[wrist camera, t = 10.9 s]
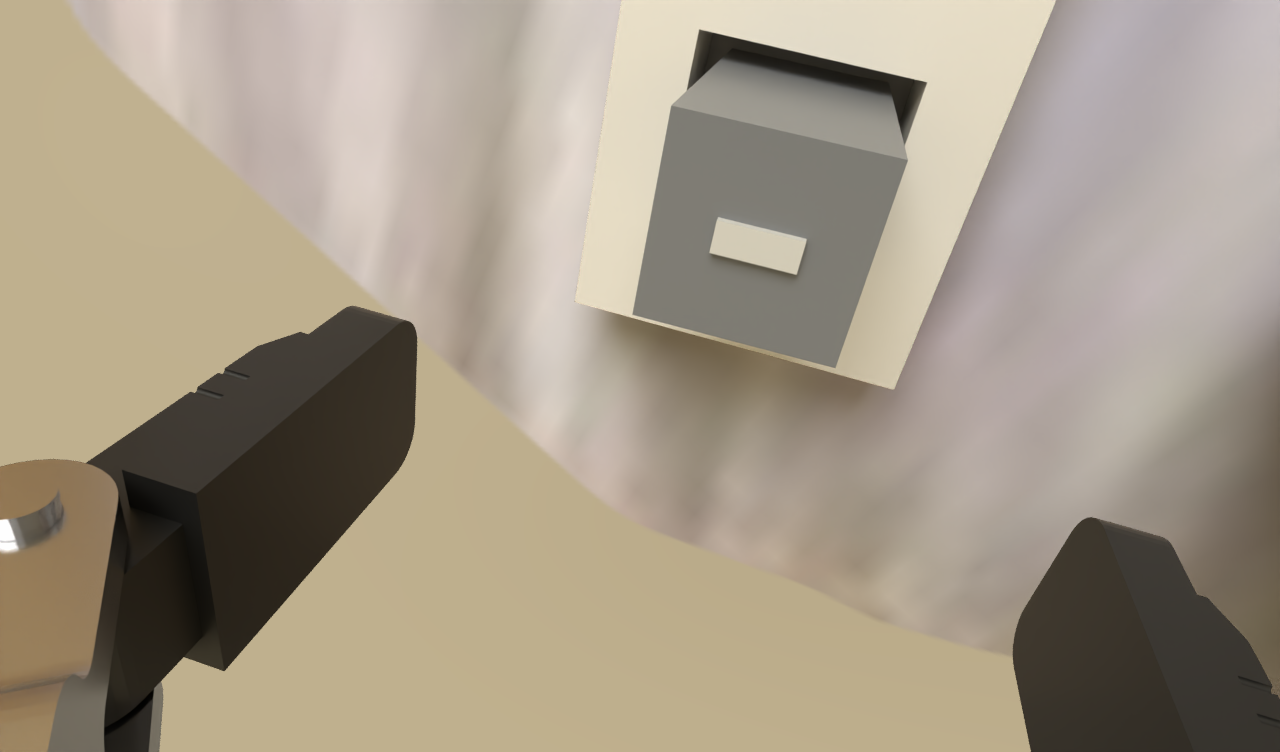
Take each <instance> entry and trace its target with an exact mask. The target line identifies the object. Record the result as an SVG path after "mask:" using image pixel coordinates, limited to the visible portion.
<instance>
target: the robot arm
mask: <svg viewBox="0 0 1280 752" xmlns="http://www.w3.org/2000/svg"><path fill="white" fill-rule="evenodd" d="M416 364H417V334H416V330H415V327H414V325H413V324H412V323H411V322H409V321H406V320H402V319H399V318H395V317H392V316H388V315H384V314H381V313H378V312H374V311H370V310H367V309H364V308H360V307H356V306H350V307H346V308H345V309H343V310H342V311H340V312H339V313H337V314H336V315H335V316H333V317H332V318H331V319H329V320H328V321H326V322H325V323H324V324H322V325H321V326H319V327H318V328H317V329H315V330H314V331H313V332H311V333H310V334H305V333H302V332H299V333H296V334H293V335H290V336H287V337H284V338H281V339H278V340H275V341H272V342H269V343H266V344H263V345H260V346H257V347H256V348H254V349H253V350H251V351H250V352H248V353H247V354H245V355H244V356H242V357H241V358H239V359H238V360H237V361H235V362H234V363H232V364H231V365H229V366H228V367H226V368H225V371H224V373H223V374H220V373H217V374H216V375H214V376H213V377H212V378H210V379H209V380H207V381H206V382H205V383H203V384H202V385H200V386H198V388H197V391H196V393H193V392H189V393H188V394H187V395H185V396H184V397H182V398H181V399H179V400H178V401H176V402H175V403H173V404H172V405H170V406H169V407H167V408H166V409H165V410H163V411H162V412H160V413H159V414H157V415H156V416H154V417H153V418H151V419H150V420H148V421H147V422H145V423H144V424H143V425H141V426H140V427H138V428H137V429H135V430H134V431H132V432H131V433H129V434H128V435H126V436H125V437H123V438H122V439H121V440H119V441H117V442H116V443H115V444H113V445H112V446H110V447H109V448H107V449H106V450H104V451H103V452H102V453H100V454H98V455H97V456H95V457H94V458H93V459H91V460H90V461H88V462H87V463H82V462H78V461H71V460H60V459H46V460H33V461H25V462H18V463H14V464H9V465H5V466H1V467H0V752H159V747H160V735H161V721H162V708H163V688H162V683H161V681H162V679H163V678H164V677H165V676H166V675H167V674H168V673H169V672H170V671H171V670H172V669H173V668H174V667H175V666H176V665H177V663H178V662H179V661H180V660H181V659H182V658H183V657H185V658H188V659H191V660H194V661H197V662H200V663H202V664H205V665H208V666H211V667H214V668H217V669H219V670H222V671H225V670H226V669H227V668H228V666H229V665H230V664H231V663H232V662H233V661H234V659H235V658H236V657H237V656H238V655H239V654H240V653H241V651H242V650H243V649H244V648H245V647H246V646H247V644H248V643H249V642H250V641H251V640H252V639H253V637H254V636H255V635H256V634H257V633H258V632H259V631H260V629H261V628H262V627H263V626H264V625H265V624H266V623H267V621H268V620H269V619H270V618H271V617H272V616H273V614H274V613H275V612H276V611H277V610H278V609H279V608H280V606H281V605H282V604H283V603H284V602H285V601H286V600H287V598H288V597H289V596H290V595H291V594H292V593H293V591H294V590H295V589H296V588H297V587H298V586H299V584H300V583H301V582H302V581H303V580H304V579H305V578H306V576H307V575H308V574H309V573H310V572H311V571H312V570H313V568H314V567H315V566H316V565H317V564H318V563H319V562H320V560H321V559H322V558H323V557H324V556H325V555H326V553H327V552H328V551H329V550H330V549H331V548H332V547H333V545H334V544H335V543H336V542H337V541H338V540H339V538H340V537H341V536H342V535H343V534H344V533H345V531H346V530H347V529H348V528H349V527H350V526H351V525H352V523H353V522H354V521H355V520H356V519H357V518H358V516H359V515H360V514H361V513H362V512H363V510H365V508H366V507H367V506H368V505H369V504H370V503H371V502H372V500H373V499H374V498H375V497H376V496H377V495H378V493H379V492H380V491H381V490H382V489H383V488H384V487H385V485H386V484H387V483H388V482H389V481H390V479H391V478H392V477H393V476H394V475H395V474H396V473H397V471H398V470H399V468H400V467H401V465H402V463H403V462H404V460H405V458H406V456H407V453H408V451H409V448H410V445H411V442H412V438H413V433H414V425H415V400H416V399H415V398H416ZM1013 664H1014V670H1015V675H1016V680H1017V685H1018V690H1019V695H1020V700H1021V705H1022V709H1023V714H1024V719H1025V724H1026V729H1027V734H1028V739H1029V744H1030V748H1031V752H1280V699H1279V697H1278V695H1275V694H1271V688H1272V684H1271V683H1270V681H1269V679H1268V677H1267V675H1266V673H1265V671H1264V670H1263V668H1262V666H1261V664H1260V662H1259V660H1258V659H1257V657H1256V655H1255V653H1254V651H1253V649H1252V647H1251V646H1250V644H1249V642H1248V641H1247V640H1246V639H1245V637H1244V636H1243V635H1242V634H1241V633H1240V632H1239V631H1238V630H1237V629H1236V628H1235V627H1234V626H1233V625H1232V624H1231V623H1230V621H1229V620H1228V619H1227V618H1226V617H1225V616H1224V615H1223V614H1222V613H1221V612H1220V611H1219V610H1218V609H1217V608H1216V607H1215V606H1214V604H1213V603H1212V602H1211V601H1210V600H1209V599H1208V598H1206V597H1202V596H1199V595H1197V594H1196V592H1195V590H1194V588H1193V586H1192V584H1191V582H1190V580H1189V578H1188V576H1187V574H1186V572H1185V570H1184V568H1183V566H1182V564H1181V562H1180V560H1179V558H1178V556H1177V554H1176V552H1175V550H1174V548H1173V547H1172V545H1171V543H1170V542H1169V541H1168V540H1167V539H1165V538H1163V537H1160V536H1157V535H1153V534H1150V533H1146V532H1143V531H1139V530H1136V529H1132V528H1129V527H1125V526H1122V525H1118V524H1114V523H1111V522H1107V521H1104V520H1100V519H1097V518H1092V517H1090V518H1086V519H1084V520H1082V521H1081V522H1080V523H1079V524H1078V525H1077V526H1076V527H1075V528H1074V529H1073V531H1072V532H1071V534H1070V535H1069V537H1068V539H1067V540H1066V542H1065V544H1064V545H1063V547H1062V548H1061V550H1060V552H1059V553H1058V555H1057V557H1056V558H1055V560H1054V561H1053V563H1052V565H1051V566H1050V568H1049V569H1048V571H1047V573H1046V574H1045V576H1044V578H1043V579H1042V581H1041V582H1040V584H1039V586H1038V587H1037V589H1036V591H1035V592H1034V594H1033V595H1032V597H1031V599H1030V600H1029V602H1028V603H1027V605H1026V607H1025V608H1024V610H1023V612H1022V614H1021V616H1020V619H1019V622H1018V625H1017V628H1016V632H1015V637H1014V644H1013Z"/></svg>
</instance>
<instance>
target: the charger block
mask: <svg viewBox="0 0 1280 752" xmlns="http://www.w3.org/2000/svg"><path fill="white" fill-rule="evenodd" d="M907 162H908V158H907V154H906V150H905V146H904V142H903V138H902V134H901V130H900V126H899V122H898V118H897V114H896V110H895V106H894V102H893V98H892V94H891V90H890V86H889V83H887V82H883V81H878V80H874V79H869V78H865V77H860V76H856V75H851V74H846V73H842V72H837V71H833V70H828V69H824V68H819V67H815V66H810V65H806V64H801V63H797V62H792V61H787V60H783V59H778V58H774V57H769V56H765V55H760V54H756V53H751V52H747V51H742V50H738V49H733V48H732V49H731V50H730V51H729V52H728V53H727V54H726V55H725V56H724V57H723V58H722V59H720V60H719V61H718V62H717V63H716V64H715V65H714V66H713V67H712V68H711V69H710V70H709V71H708V72H707V73H705V74H704V75H703V76H702V77H701V78H700V79H699V80H698V81H697V82H696V83H695V84H694V85H693V86H692V87H690V88H689V89H688V90H687V91H686V92H685V93H684V94H683V95H682V96H681V97H680V98H679V99H678V100H676V101H675V102H674V103H673V104H672V105H671V109H670V115H669V120H668V125H667V131H666V136H665V142H664V147H663V152H662V158H661V163H660V168H659V174H658V179H657V185H656V190H655V195H654V201H653V206H652V211H651V217H650V222H649V228H648V233H647V238H646V244H645V249H644V255H643V260H642V265H641V271H640V276H639V281H638V287H637V292H636V298H635V303H634V308H633V314H632V315H635V316H639V317H643V318H646V319H650V320H654V321H658V322H662V323H665V324H669V325H673V326H677V327H681V328H684V329H688V330H692V331H696V332H700V333H703V334H707V335H711V336H715V337H719V338H722V339H726V340H730V341H734V342H738V343H741V344H745V345H749V346H753V347H757V348H760V349H764V350H768V351H772V352H776V353H779V354H783V355H787V356H791V357H795V358H798V359H802V360H806V361H810V362H813V363H817V364H821V365H825V366H829V367H832V368H836V365H837V362H838V359H839V356H840V353H841V351H842V348H843V345H844V342H845V339H846V336H847V333H848V331H849V328H850V325H851V322H852V319H853V316H854V313H855V311H856V308H857V305H858V302H859V299H860V296H861V293H862V291H863V288H864V285H865V282H866V279H867V276H868V273H869V270H870V268H871V265H872V262H873V259H874V256H875V253H876V250H877V248H878V245H879V242H880V239H881V236H882V233H883V230H884V228H885V225H886V222H887V219H888V216H889V213H890V210H891V207H892V205H893V202H894V199H895V196H896V193H897V190H898V187H899V185H900V182H901V179H902V176H903V173H904V170H905V167H906V165H907Z"/></svg>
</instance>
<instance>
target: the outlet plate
mask: <svg viewBox="0 0 1280 752" xmlns="http://www.w3.org/2000/svg"><path fill="white" fill-rule="evenodd" d="M1055 2H1056V0H622V1H621V7H620V14H619V20H618V27H617V33H616V40H615V46H614V52H613V59H612V65H611V72H610V78H609V85H608V91H607V97H606V104H605V110H604V117H603V123H602V130H601V136H600V142H599V149H598V155H597V162H596V168H595V175H594V181H593V187H592V194H591V200H590V207H589V213H588V220H587V226H586V232H585V239H584V245H583V252H582V258H581V265H580V271H579V277H578V284H577V290H576V297H575V302H576V303H580V304H584V305H587V306H591V307H595V308H598V309H602V310H605V311H609V312H613V313H616V314H620V315H624V316H627V317H631V318H634V319H638V320H642V321H645V322H649V323H653V324H656V325H660V326H664V327H667V328H671V329H674V330H678V331H682V332H685V333H689V334H693V335H696V336H700V337H703V338H707V339H711V340H714V341H718V342H722V343H725V344H729V345H733V346H736V347H740V348H743V349H747V350H751V351H754V352H758V353H762V354H765V355H769V356H772V357H776V358H780V359H783V360H787V361H791V362H794V363H798V364H802V365H805V366H809V367H812V368H816V369H820V370H823V371H827V372H831V373H834V374H838V375H841V376H845V377H849V378H852V379H856V380H860V381H863V382H867V383H871V384H874V385H878V386H881V387H885V388H889V389H892V390H894V388H895V386H896V384H897V381H898V379H899V376H900V374H901V372H902V369H903V367H904V364H905V362H906V360H907V357H908V355H909V352H910V350H911V348H912V345H913V343H914V340H915V338H916V336H917V333H918V331H919V328H920V326H921V324H922V321H923V319H924V316H925V314H926V312H927V309H928V307H929V304H930V302H931V300H932V297H933V295H934V292H935V290H936V288H937V285H938V283H939V280H940V278H941V276H942V273H943V271H944V268H945V266H946V264H947V261H948V259H949V256H950V254H951V252H952V249H953V247H954V244H955V242H956V240H957V237H958V235H959V232H960V230H961V228H962V225H963V223H964V220H965V218H966V216H967V213H968V211H969V208H970V206H971V204H972V201H973V199H974V196H975V194H976V192H977V189H978V187H979V184H980V182H981V180H982V177H983V175H984V172H985V170H986V168H987V165H988V163H989V160H990V158H991V156H992V153H993V151H994V148H995V146H996V144H997V141H998V139H999V136H1000V134H1001V132H1002V129H1003V127H1004V124H1005V122H1006V120H1007V117H1008V115H1009V112H1010V110H1011V108H1012V105H1013V103H1014V100H1015V98H1016V96H1017V93H1018V91H1019V88H1020V86H1021V84H1022V81H1023V79H1024V76H1025V74H1026V72H1027V69H1028V67H1029V64H1030V62H1031V60H1032V57H1033V55H1034V52H1035V50H1036V48H1037V45H1038V43H1039V40H1040V38H1041V36H1042V33H1043V31H1044V28H1045V26H1046V24H1047V21H1048V19H1049V16H1050V14H1051V12H1052V9H1053V7H1054V4H1055ZM732 48H733V49H738V50H742V51H747V52H751V53H756V54H760V55H765V56H769V57H774V58H778V59H783V60H787V61H792V62H797V63H801V64H806V65H810V66H815V67H819V68H824V69H828V70H833V71H837V72H842V73H846V74H851V75H856V76H860V77H865V78H869V79H874V80H878V81H883V82H887V83H889V86H890V90H891V94H892V98H893V102H894V106H895V110H896V114H897V118H898V122H899V126H900V130H901V134H902V138H903V142H904V146H905V150H906V154H907V158H908V162H907V165H906V167H905V170H904V173H903V176H902V179H901V182H900V185H899V187H898V190H897V193H896V196H895V199H894V202H893V205H892V207H891V210H890V213H889V216H888V219H887V222H886V225H885V228H884V230H883V233H882V236H881V239H880V242H879V245H878V248H877V250H876V253H875V256H874V259H873V262H872V265H871V268H870V270H869V273H868V276H867V279H866V282H865V285H864V288H863V291H862V293H861V296H860V299H859V302H858V305H857V308H856V311H855V313H854V316H853V319H852V322H851V325H850V328H849V331H848V333H847V336H846V339H845V342H844V345H843V348H842V351H841V353H840V356H839V359H838V362H837V365H836V368H832V367H829V366H825V365H821V364H817V363H813V362H810V361H806V360H802V359H798V358H795V357H791V356H787V355H783V354H779V353H776V352H772V351H768V350H764V349H760V348H757V347H753V346H749V345H745V344H741V343H738V342H734V341H730V340H726V339H722V338H719V337H715V336H711V335H707V334H703V333H700V332H696V331H692V330H688V329H684V328H681V327H677V326H673V325H669V324H665V323H662V322H658V321H654V320H650V319H646V318H643V317H639V316H635V315H632V314H633V308H634V303H635V298H636V292H637V287H638V281H639V276H640V271H641V265H642V260H643V255H644V249H645V244H646V238H647V233H648V228H649V222H650V217H651V211H652V206H653V201H654V195H655V190H656V185H657V179H658V174H659V168H660V163H661V158H662V152H663V147H664V142H665V136H666V131H667V125H668V120H669V115H670V109H671V105H672V104H673V103H674V102H675V101H676V100H678V99H679V98H680V97H681V96H682V95H683V94H684V93H685V92H686V91H687V90H688V89H689V88H690V87H692V86H693V85H694V84H695V83H696V82H697V81H698V80H699V79H700V78H701V77H702V76H703V75H704V74H705V73H707V72H708V71H709V70H710V69H711V68H712V67H713V66H714V65H715V64H716V63H717V62H718V61H719V60H720V59H722V58H723V57H724V56H725V55H726V54H727V53H728V52H729V51H730V50H731V49H732Z"/></svg>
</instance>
